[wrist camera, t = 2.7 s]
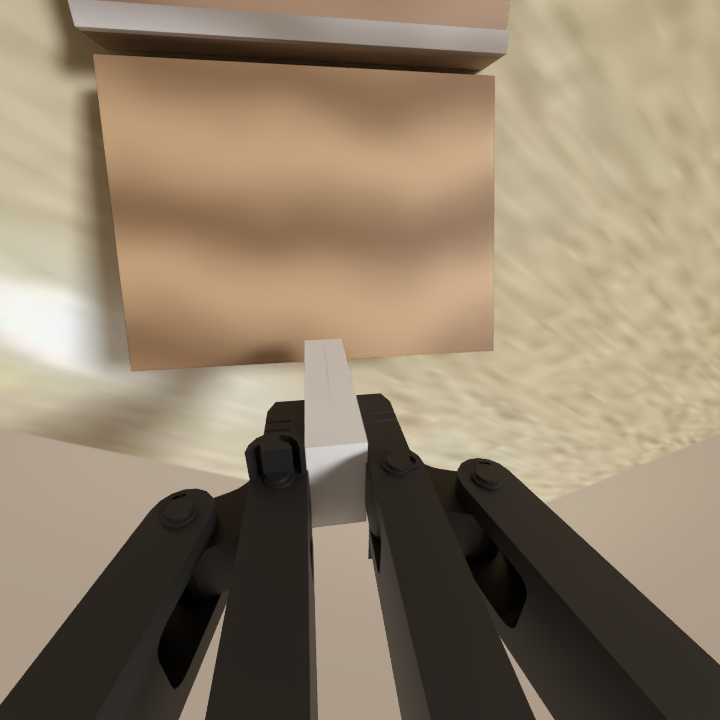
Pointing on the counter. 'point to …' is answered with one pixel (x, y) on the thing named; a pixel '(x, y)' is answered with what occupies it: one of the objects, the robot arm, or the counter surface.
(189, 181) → the oak plank
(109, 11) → the walnut board
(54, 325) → the counter surface
